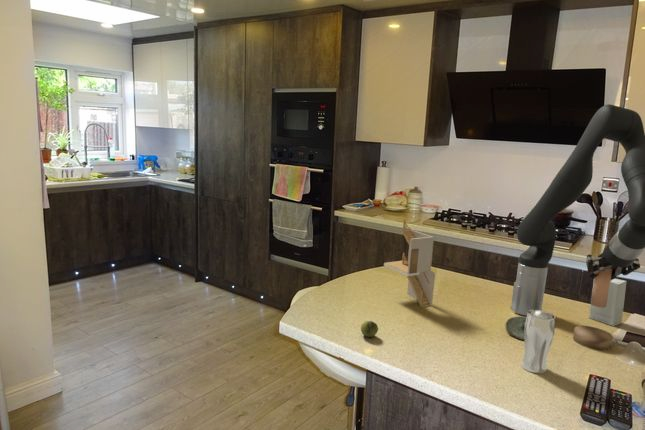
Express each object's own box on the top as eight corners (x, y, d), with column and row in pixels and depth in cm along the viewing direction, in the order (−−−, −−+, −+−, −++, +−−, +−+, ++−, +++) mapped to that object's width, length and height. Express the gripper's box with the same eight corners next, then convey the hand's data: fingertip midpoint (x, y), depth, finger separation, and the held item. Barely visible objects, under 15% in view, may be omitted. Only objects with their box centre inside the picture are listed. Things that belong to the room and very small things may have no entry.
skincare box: (621, 323, 154) (629, 281, 151) (612, 327, 151) (620, 283, 148) (595, 314, 161) (602, 274, 158) (586, 317, 158) (593, 276, 155)
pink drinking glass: (593, 306, 134) (599, 267, 132) (588, 301, 138) (594, 263, 136) (609, 308, 134) (615, 268, 131) (603, 303, 138) (609, 265, 136)
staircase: (410, 311, 156) (417, 228, 151) (381, 295, 170) (387, 219, 165) (432, 307, 161) (439, 226, 156) (402, 292, 175) (408, 217, 170)
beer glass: (514, 361, 124) (521, 308, 121) (538, 361, 125) (546, 309, 122) (527, 374, 117) (535, 319, 114) (553, 374, 118) (562, 320, 115)
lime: (358, 335, 135) (359, 319, 134) (371, 332, 137) (372, 316, 136) (367, 341, 131) (368, 325, 130) (380, 338, 134) (381, 322, 133)
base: (579, 347, 134) (581, 337, 134) (568, 333, 144) (569, 324, 143) (617, 351, 133) (618, 342, 132) (602, 337, 142) (604, 328, 142)
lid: (542, 333, 143) (544, 318, 142) (540, 345, 135) (543, 329, 134) (506, 325, 148) (508, 310, 147) (502, 336, 139) (504, 320, 138)
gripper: (651, 237, 124) (623, 268, 137) (593, 233, 126) (572, 263, 140) (657, 262, 119) (628, 291, 133) (598, 256, 122) (575, 286, 136)
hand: (599, 277), depth 136 cm, fingers closed on pink drinking glass, 4 cm apart
